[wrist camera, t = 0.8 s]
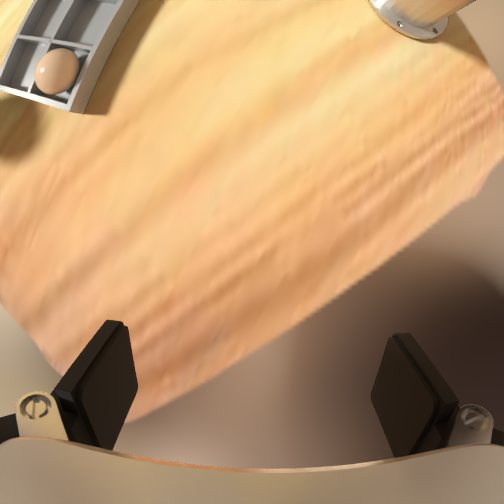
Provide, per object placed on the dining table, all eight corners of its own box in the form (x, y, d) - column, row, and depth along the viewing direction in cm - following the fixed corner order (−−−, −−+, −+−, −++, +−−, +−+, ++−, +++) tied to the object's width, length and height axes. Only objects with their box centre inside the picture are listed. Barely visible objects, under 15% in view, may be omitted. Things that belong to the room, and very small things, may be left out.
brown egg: (62, 51, 29) (38, 40, 24) (95, 58, 30) (72, 46, 24) (45, 92, 31) (18, 86, 25) (76, 102, 32) (50, 96, 26)
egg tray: (78, -42, 25) (68, -52, 21) (165, -37, 27) (158, -50, 23) (8, 91, 31) (-7, 88, 28) (83, 114, 33) (69, 111, 29)
